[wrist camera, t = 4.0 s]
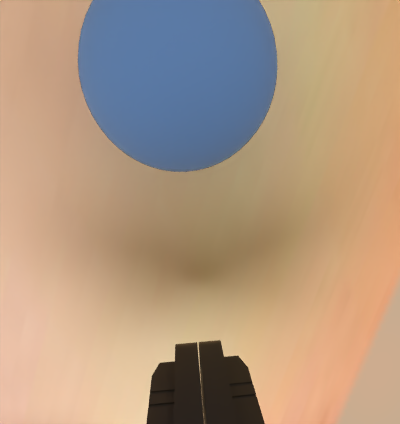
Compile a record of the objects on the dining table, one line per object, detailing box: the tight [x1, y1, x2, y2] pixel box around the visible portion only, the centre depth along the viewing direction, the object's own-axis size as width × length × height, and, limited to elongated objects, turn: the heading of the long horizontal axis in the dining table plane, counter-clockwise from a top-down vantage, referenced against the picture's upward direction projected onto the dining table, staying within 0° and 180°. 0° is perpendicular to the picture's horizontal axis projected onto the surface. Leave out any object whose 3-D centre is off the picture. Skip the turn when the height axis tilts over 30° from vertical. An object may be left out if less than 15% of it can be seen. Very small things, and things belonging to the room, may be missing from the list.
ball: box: [78, 0, 277, 172], centre depth 9 cm, size 6×6×6 cm
